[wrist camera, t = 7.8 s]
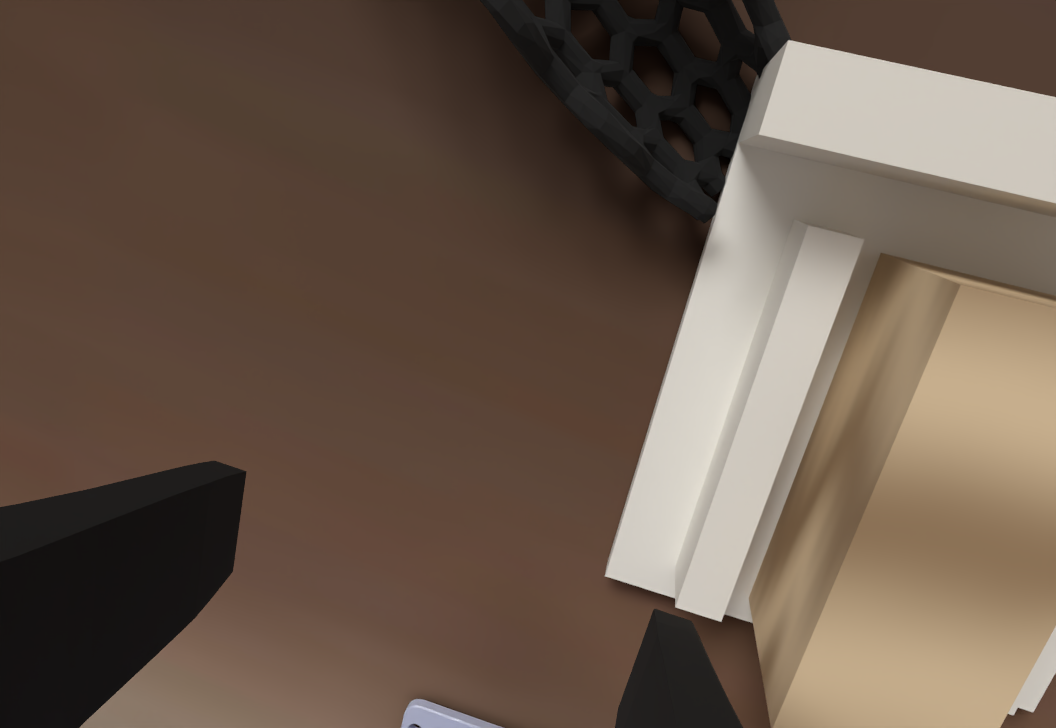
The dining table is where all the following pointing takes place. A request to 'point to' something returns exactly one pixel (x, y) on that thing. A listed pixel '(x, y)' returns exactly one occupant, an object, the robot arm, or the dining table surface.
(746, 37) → the decorative element
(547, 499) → the dining table surface
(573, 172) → the dining table surface
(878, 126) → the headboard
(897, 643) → the tan block
